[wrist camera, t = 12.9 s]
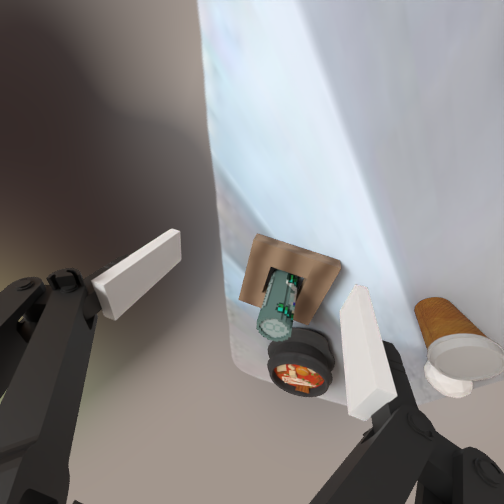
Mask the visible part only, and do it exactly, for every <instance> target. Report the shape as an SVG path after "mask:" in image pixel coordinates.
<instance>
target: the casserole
mask: <svg viewBox="0 0 504 504" xmlns="http://www.w3.org/2000/svg"><path fill="white" fill-rule="evenodd" d="M268 355H269V358H270V359H269V361H268V364H267V366H268V370H269V372H270V377H271V379H272V381H273V382H274V383H275V384H276V385H277V386H278V387H279V388H281V389H283V390H284V391H286V392H288V393H291V394H294V395H298V396H303V397H316V396H320V395H322V394H324V393H325V392H326V391H327V390H328V387H329V385H330V384H331V383H332V374H331V371H332V369H333V368H334V364H335V361H334V357H333V355H332V353H331V352H330V350H329V345H328V341H327V339H326V338H325V337H324V336H322V335H320V334H319V333H316V332H314V331H311V330H308V329H303V328H292V332H291V337H288V340H286V339H285V341H284V340H283V342H282V341H278V342H276V341H272V342H271V343H270V345H269V346H268Z"/></svg>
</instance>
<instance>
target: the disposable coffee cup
mask: <svg viewBox="0 0 504 504" xmlns="http://www.w3.org/2000/svg"><path fill="white" fill-rule="evenodd" d="M414 311H415V314H416V317H417V320H418V323H419V326H420V329H421V332H422V335H423V338H424V341H425V344H426V347H427V357H428V361H429V362H430V364H431V365H432V366H434V367H435V368H436V369H437V370H438V371H439V372H440V373H441V374H443V375H445V376H447V377H449V378H452V379H456V380H463V381H479V380H486V379H490V378H493V377H495V376H497V375H500V374H501V373H502V372H503V371H504V350H503V348H502V347H501V346H500V345H499V344H497V343H496V342H494V341H492V340H490V339H489V338H488V337H486V335H484V334H483V333H482V332H481V331H480V330H479V329H478V328H477V327H476V326H475V325H474V324H473V323H472V322H471V321H470V320H468V318H467V317H465V315H463V314H462V313H461V312H460V311H459V310H458V309H457V308H456V307H455V306H454V305H453V304H452V303H451V302H450V301H448V300H446V299H444V298H439V297H432V298H427V299H424V300H422V301H420V302H419V303H418V304H417V305H416V306H415V309H414Z"/></svg>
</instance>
